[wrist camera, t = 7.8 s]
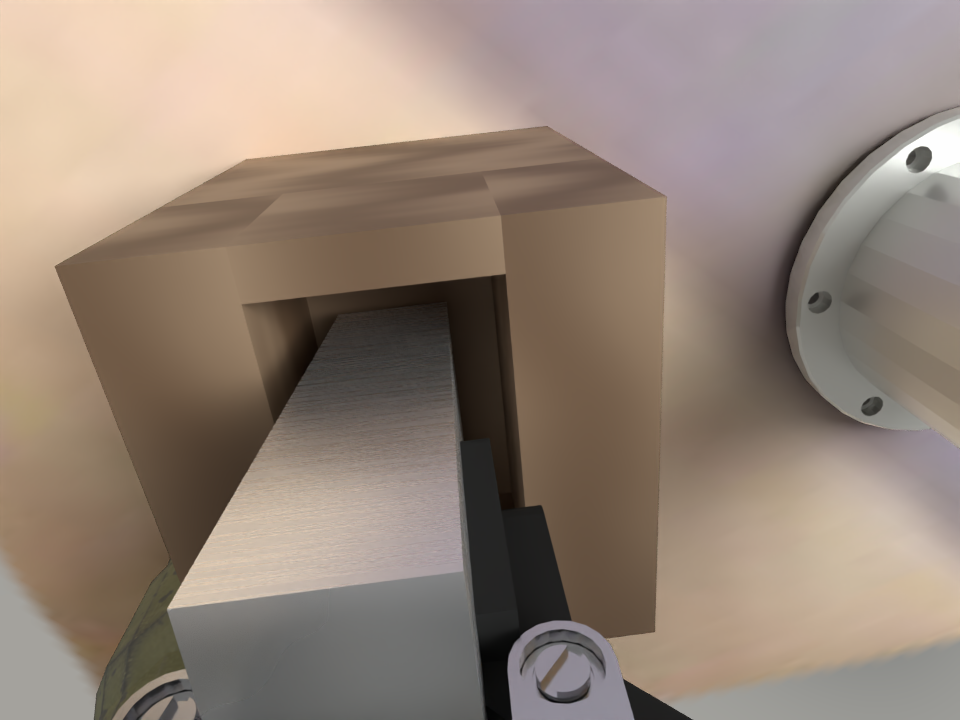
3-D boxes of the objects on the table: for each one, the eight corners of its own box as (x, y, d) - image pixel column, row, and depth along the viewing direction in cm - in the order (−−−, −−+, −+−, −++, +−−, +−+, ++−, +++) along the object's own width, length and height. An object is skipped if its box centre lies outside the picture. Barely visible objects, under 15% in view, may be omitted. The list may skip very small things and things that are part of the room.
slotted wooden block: (547, 126, 21) (666, 197, 11) (560, 389, 26) (654, 631, 15) (246, 159, 21) (54, 266, 10) (310, 419, 26) (222, 687, 15)
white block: (446, 301, 15) (463, 571, 5) (474, 524, 17) (521, 1009, 7) (338, 314, 15) (165, 609, 5) (379, 536, 17) (303, 1042, 7)
